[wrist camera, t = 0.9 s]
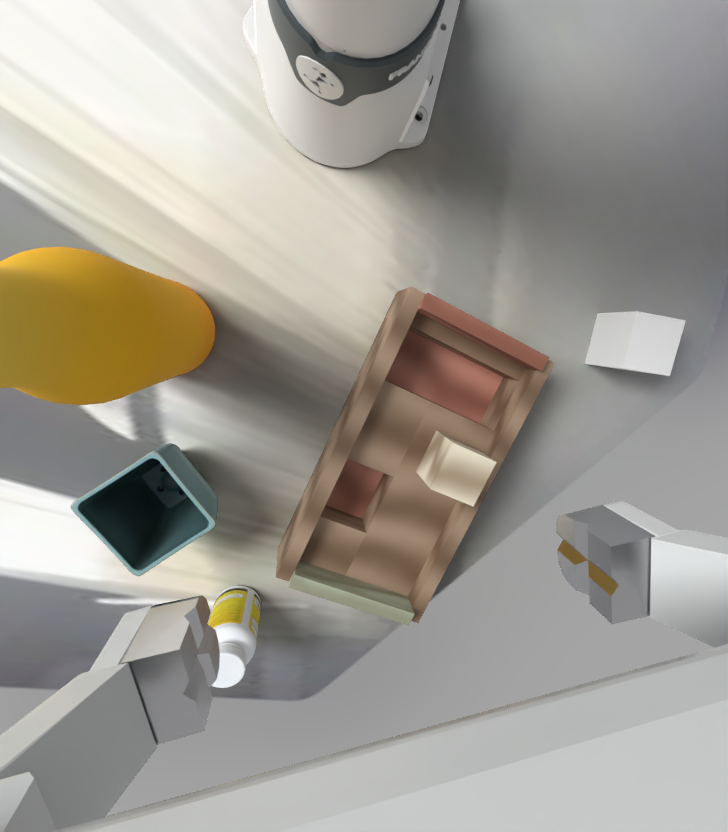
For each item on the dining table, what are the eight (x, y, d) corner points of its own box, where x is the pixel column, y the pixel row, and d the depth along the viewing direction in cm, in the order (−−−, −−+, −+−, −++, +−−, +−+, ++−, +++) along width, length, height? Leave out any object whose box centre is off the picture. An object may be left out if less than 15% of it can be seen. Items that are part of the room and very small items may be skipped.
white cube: (584, 363, 49) (622, 368, 44) (596, 313, 48) (637, 311, 42) (627, 370, 50) (670, 376, 45) (640, 321, 49) (686, 320, 44)
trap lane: (396, 292, 44) (414, 285, 37) (524, 358, 48) (561, 363, 41) (278, 547, 48) (275, 583, 41) (404, 590, 52) (420, 629, 45)
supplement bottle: (205, 609, 48) (182, 677, 39) (234, 575, 48) (218, 636, 39) (242, 631, 50) (228, 703, 40) (271, 599, 49) (264, 663, 40)
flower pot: (233, 488, 46) (218, 526, 37) (166, 532, 46) (135, 579, 37) (183, 425, 44) (154, 449, 35) (113, 470, 44) (67, 506, 35)
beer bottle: (234, 349, 43) (112, 388, 15) (154, 390, 42) (-127, 509, 14) (186, 264, 40) (-69, 120, 12) (100, 307, 40) (-360, 257, 12)
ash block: (436, 430, 44) (453, 442, 39) (475, 447, 45) (496, 462, 40) (416, 471, 44) (430, 489, 40) (454, 487, 46) (473, 506, 41)
